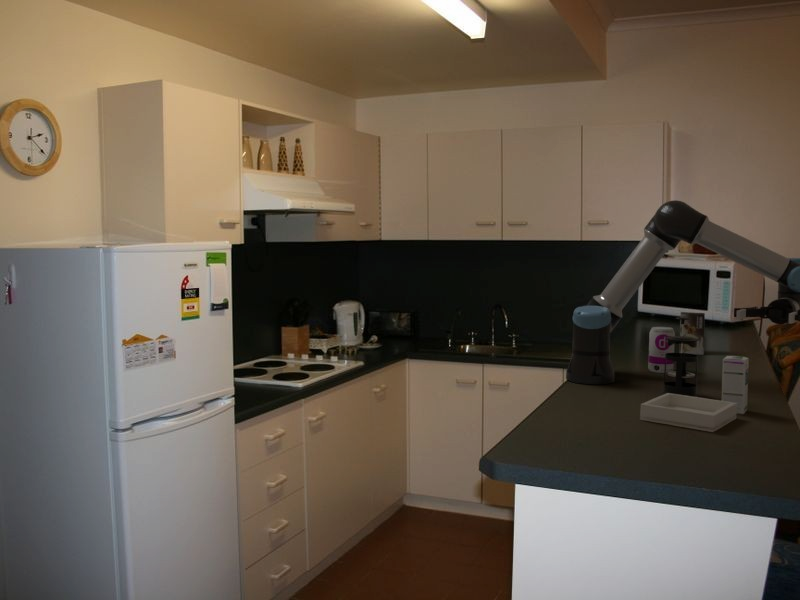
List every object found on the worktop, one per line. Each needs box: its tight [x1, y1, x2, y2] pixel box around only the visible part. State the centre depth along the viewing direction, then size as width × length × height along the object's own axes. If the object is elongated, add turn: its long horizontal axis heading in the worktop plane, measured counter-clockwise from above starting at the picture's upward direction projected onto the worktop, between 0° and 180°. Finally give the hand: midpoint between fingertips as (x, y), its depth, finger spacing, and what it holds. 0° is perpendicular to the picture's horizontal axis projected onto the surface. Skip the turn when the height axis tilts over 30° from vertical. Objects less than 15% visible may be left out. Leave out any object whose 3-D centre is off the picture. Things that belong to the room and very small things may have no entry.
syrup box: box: [721, 355, 750, 415], centre depth 200 cm, size 6×6×14 cm
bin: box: [639, 393, 737, 433], centre depth 192 cm, size 18×18×4 cm
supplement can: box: [647, 326, 676, 374], centre depth 258 cm, size 8×8×15 cm
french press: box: [662, 316, 699, 397], centre depth 219 cm, size 12×9×23 cm
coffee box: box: [678, 311, 706, 356], centre depth 297 cm, size 9×6×16 cm
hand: (763, 317), depth 210 cm, fingers open, 13 cm apart
